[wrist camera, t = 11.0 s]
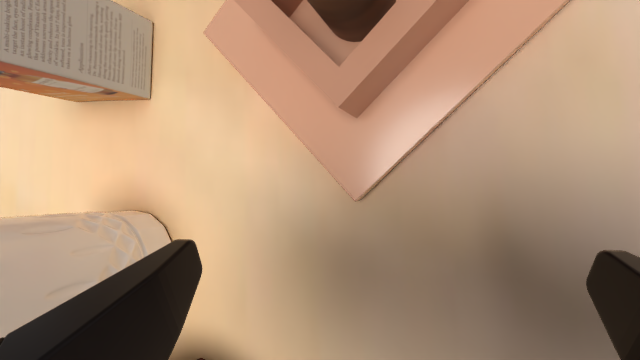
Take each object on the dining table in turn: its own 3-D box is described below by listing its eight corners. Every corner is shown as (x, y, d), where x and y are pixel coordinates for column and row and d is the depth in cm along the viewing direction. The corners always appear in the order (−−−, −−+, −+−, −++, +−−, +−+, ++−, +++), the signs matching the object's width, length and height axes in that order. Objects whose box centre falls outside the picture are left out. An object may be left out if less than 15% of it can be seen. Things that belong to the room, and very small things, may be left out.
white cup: (142, 332, 24) (-52, 432, 15) (89, 249, 26) (-111, 292, 17) (202, 264, 22) (18, 331, 13) (140, 180, 24) (-59, 184, 15)
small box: (78, 102, 26) (-143, 61, 16) (80, 31, 26) (-143, -55, 16) (152, 101, 23) (-63, 48, 14) (156, 20, 23) (-62, -92, 13)
